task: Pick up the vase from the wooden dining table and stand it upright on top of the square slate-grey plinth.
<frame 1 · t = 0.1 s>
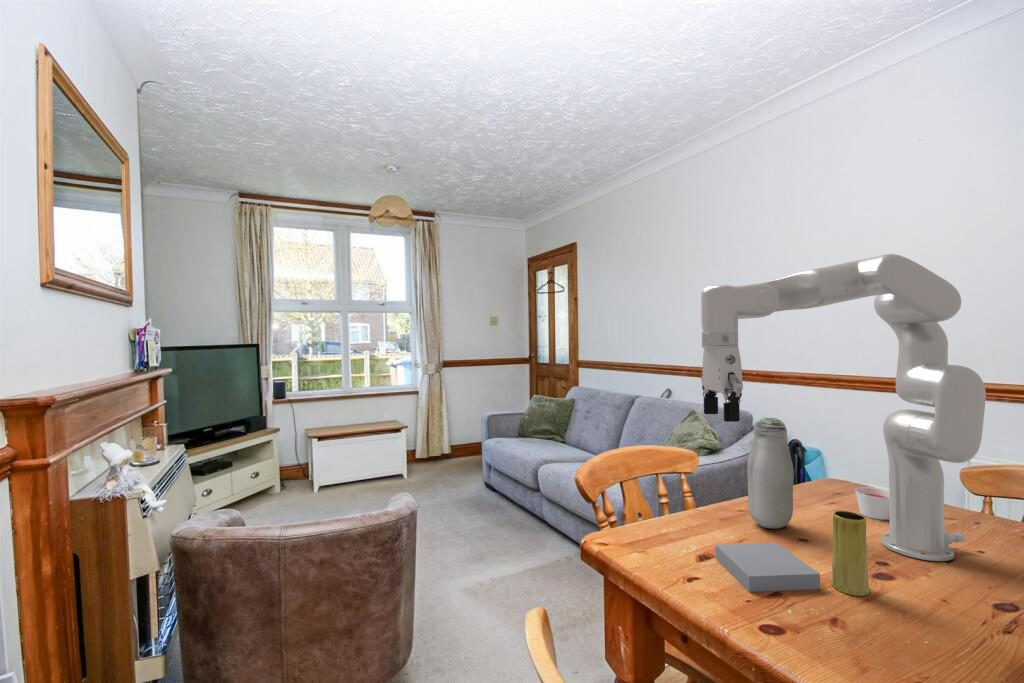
hand: (720, 417, 106), 31 cm above the table, tool pointing down, fingers open, 9 cm apart
vase: (850, 589, 92), on the table
candle: (875, 516, 128), on the table
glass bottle: (770, 527, 122), on the table
plinth: (764, 572, 98), on the table
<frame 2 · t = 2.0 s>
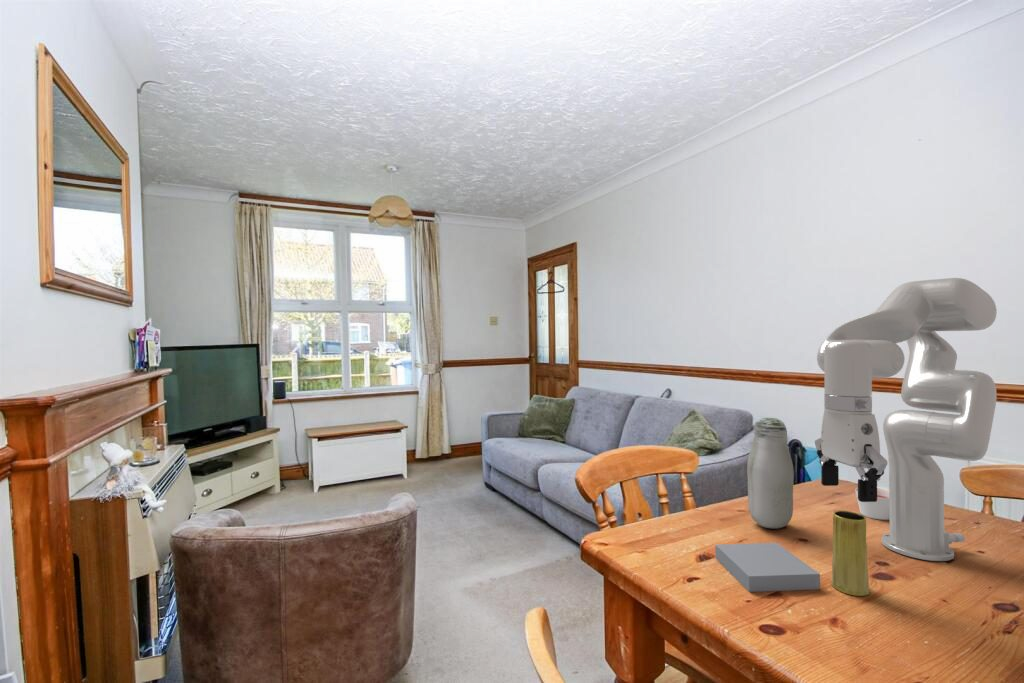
hand: (847, 492, 91), 19 cm above the table, tool pointing down, fingers open, 9 cm apart
nothing on the table moved.
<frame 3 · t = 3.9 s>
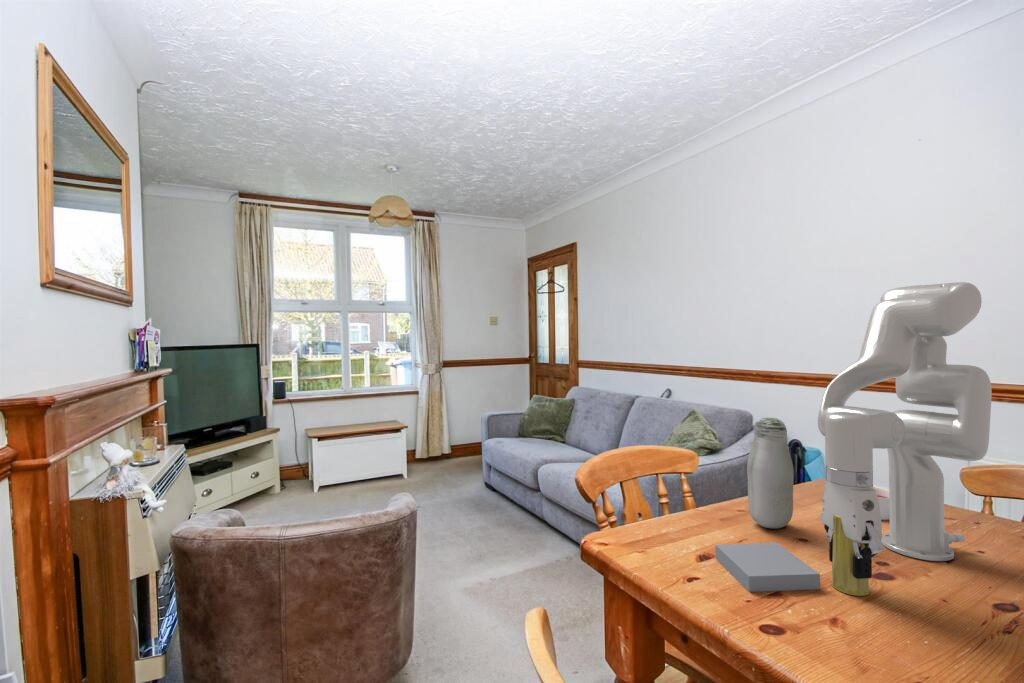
hand: (849, 568, 92), 4 cm above the table, tool pointing down, fingers closed on vase, 5 cm apart
vase: (850, 589, 92), on the table, touching gripper
everything else where it was.
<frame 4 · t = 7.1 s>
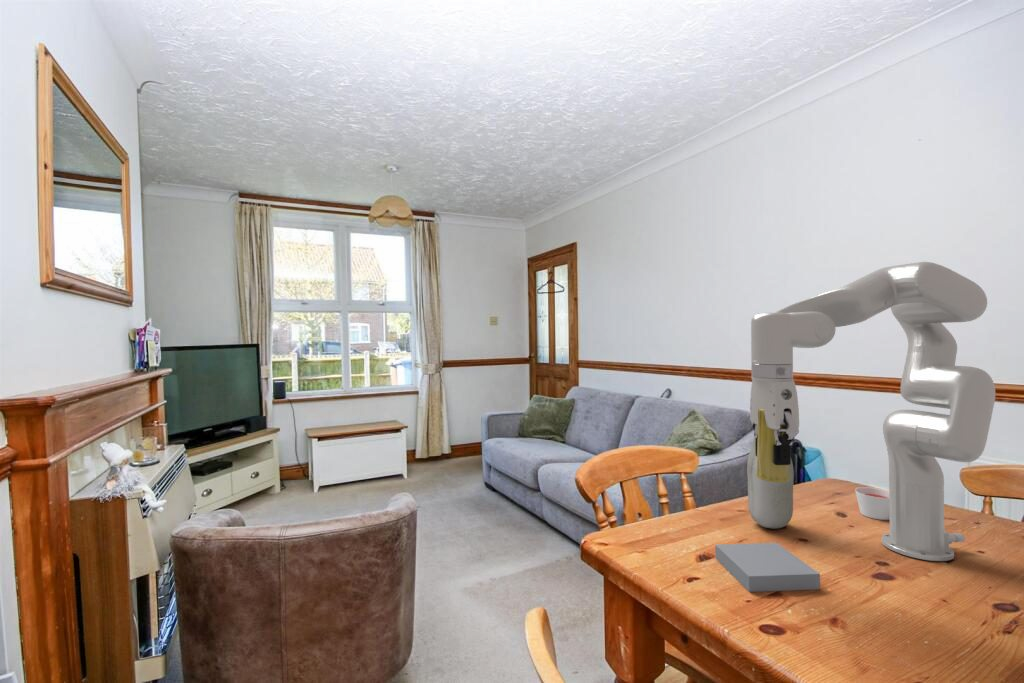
hand: (772, 459, 97), 24 cm above the table, tool pointing down, fingers closed on vase, 5 cm apart
vase: (772, 479, 97), point 20 cm above the table, touching gripper
everything else where it was.
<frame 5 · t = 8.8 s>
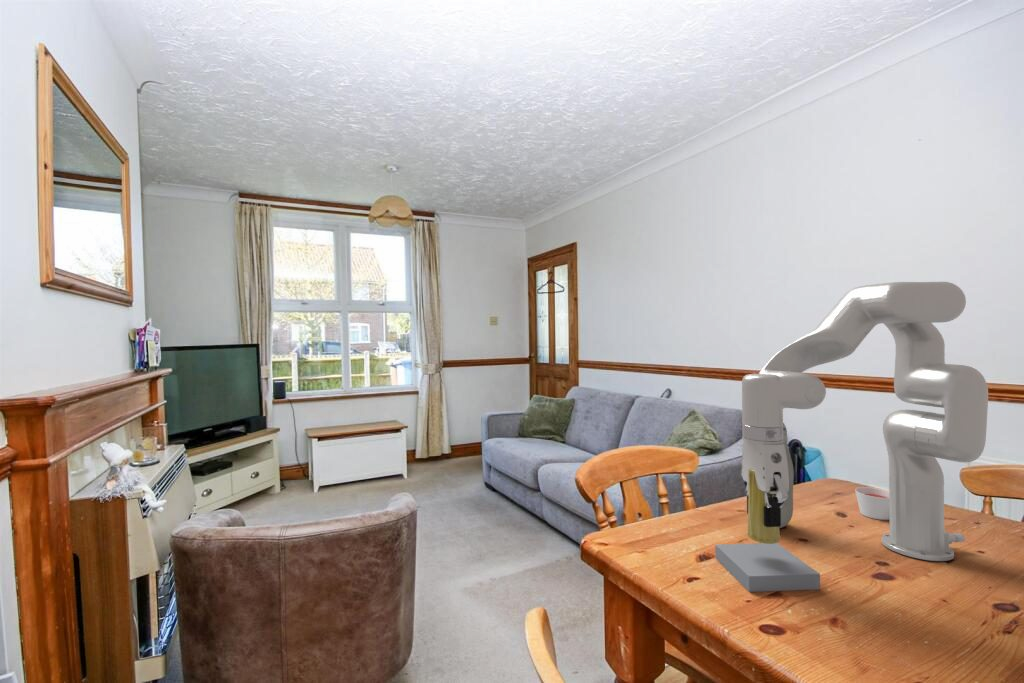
hand: (763, 519, 98), 11 cm above the table, tool pointing down, fingers closed on vase, 5 cm apart
vase: (763, 538, 98), point 7 cm above the table, touching gripper
everything else where it was.
when the fingers open (8 cm above the table, at t = 10.3 s): vase stays where it is, resting on plinth.
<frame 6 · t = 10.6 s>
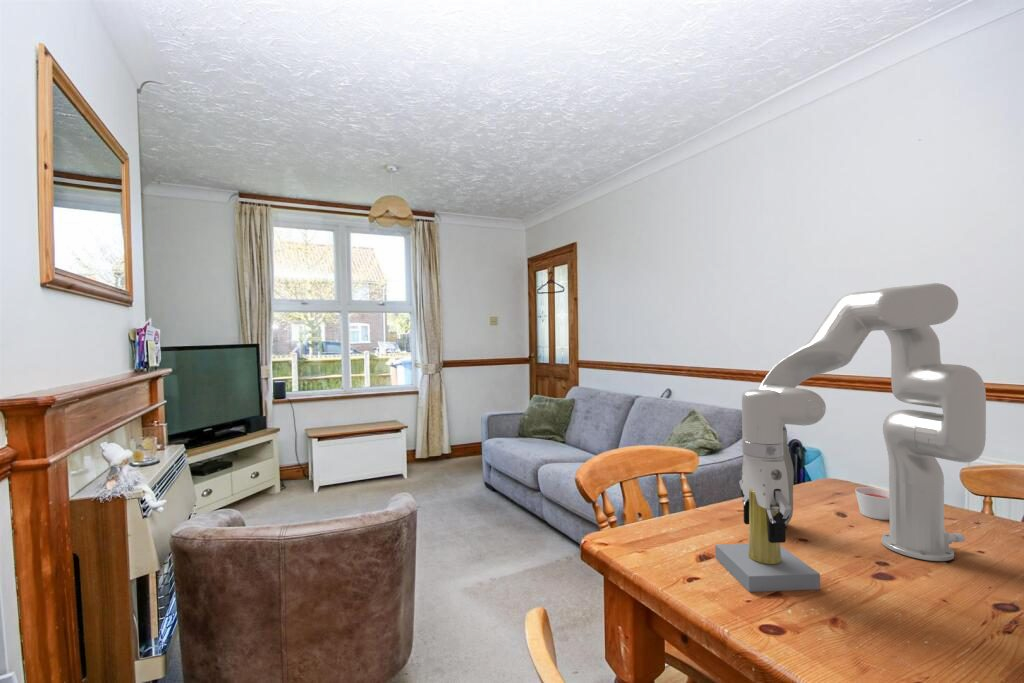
hand: (763, 532, 98), 8 cm above the table, tool pointing down, fingers open, 8 cm apart
vase: (764, 559, 98), point 3 cm above the table, touching plinth
everything else where it was.
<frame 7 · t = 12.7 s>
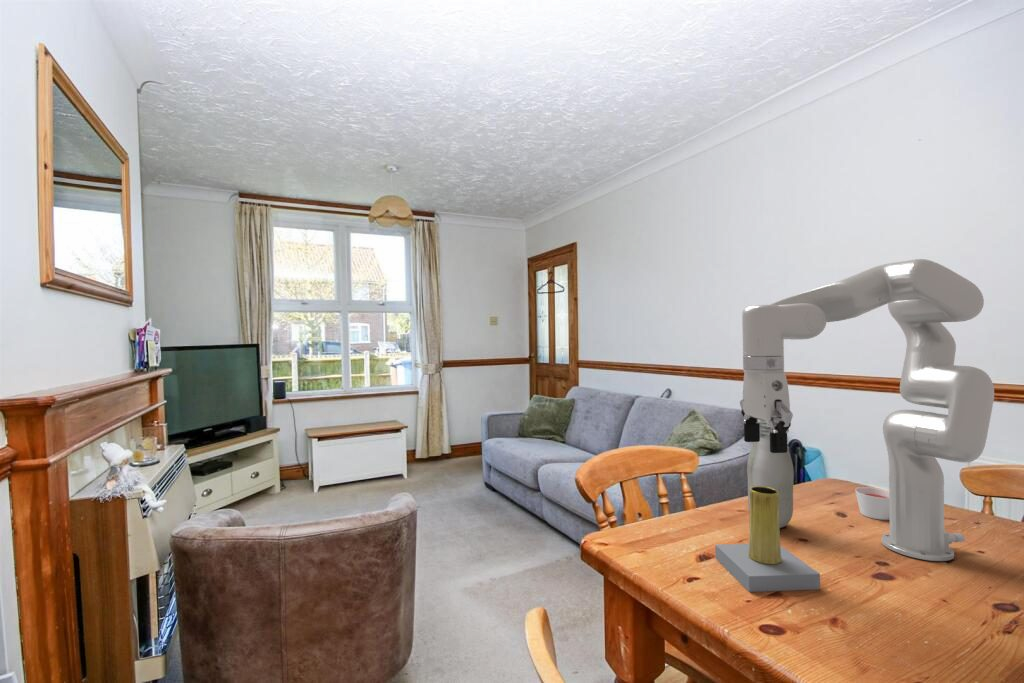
hand: (764, 446, 98), 26 cm above the table, tool pointing down, fingers open, 9 cm apart
nothing on the table moved.
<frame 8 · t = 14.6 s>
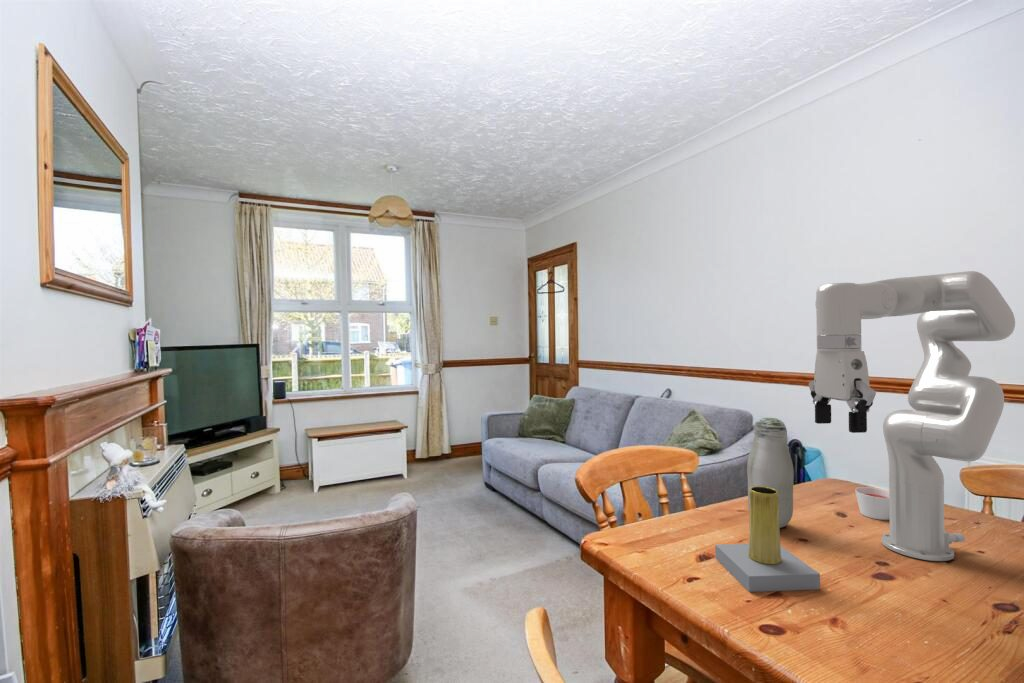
hand: (839, 427, 97), 30 cm above the table, tool pointing down, fingers open, 9 cm apart
nothing on the table moved.
at the end: vase inside the target area on the plinth (0.2 cm from its centre), point 2.8 cm above the plinth's base; vase tilted 0°; the gripper is holding nothing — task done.
